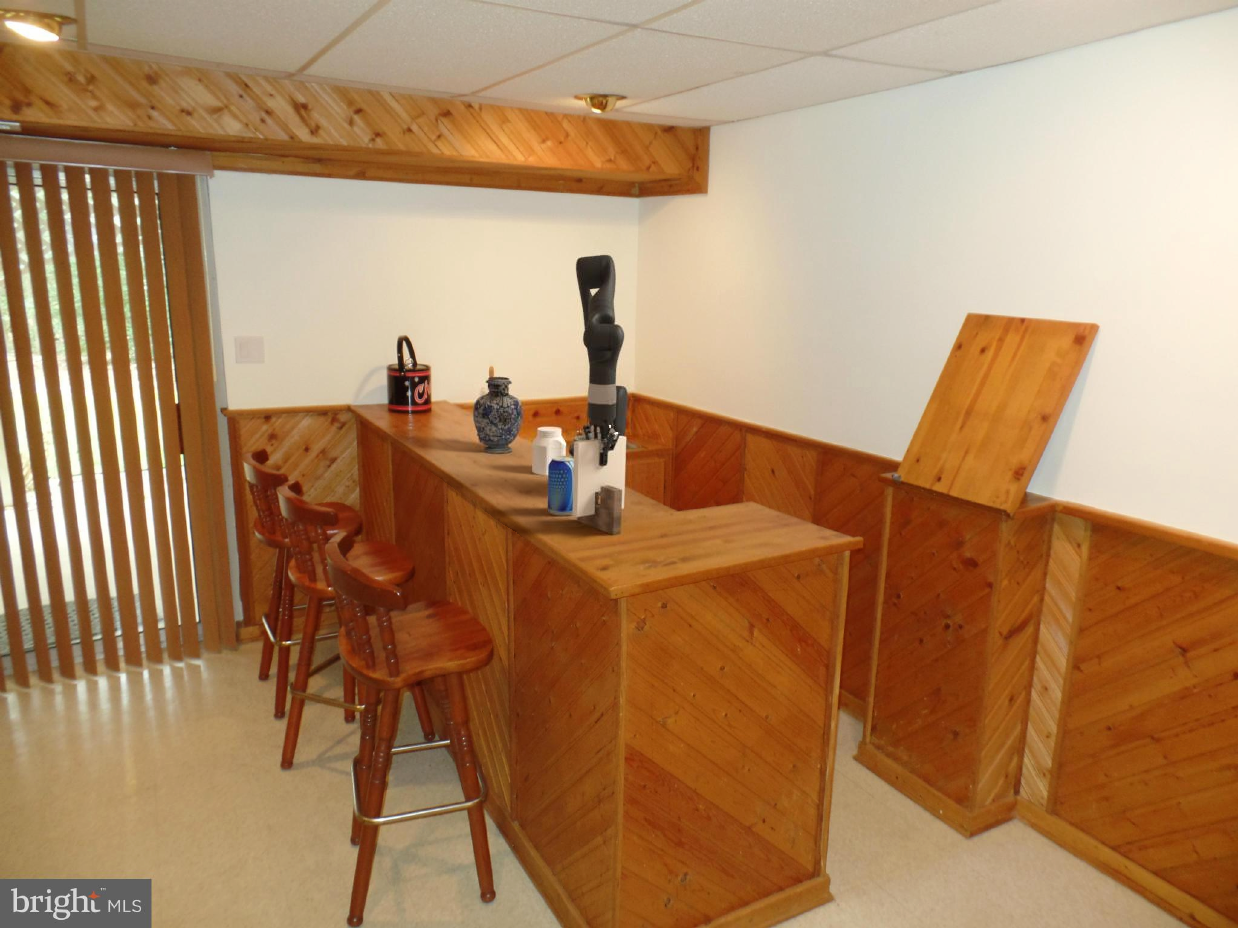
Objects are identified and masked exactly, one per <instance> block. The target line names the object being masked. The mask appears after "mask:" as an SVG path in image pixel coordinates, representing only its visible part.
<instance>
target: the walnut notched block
mask: <svg viewBox="0 0 1238 928" xmlns="http://www.w3.org/2000/svg"><path fill="white" fill-rule="evenodd" d="M598 496H599V492H595V512H594V514H591V515H586V516H581V517H576V519H577V521H578V522H581V523H583V524H585V525H587V526H590V527H592V526H593V528H595V529H597V528H598V529H597V530H600V529H601V530H600V531H602V530H603V531H602V532H605V531H606V532H605V533H607V532H609V533H608V534H610V535H612V534H613V535H612V536H615V535H614V534H616V535H620V534H619V533H621V534H622V532H621V531H622V512H623V511H622V510H623V509H622V490H621V489H618V488H615V487H612V486H610V485H605V486H601V491H600V497H598ZM599 498H600V499H599Z"/></svg>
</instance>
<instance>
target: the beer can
mask: <svg viewBox="0 0 1238 928" xmlns="http://www.w3.org/2000/svg"><path fill="white" fill-rule="evenodd" d="M573 475H574V457H572V456H571V455H566V456H554V457H552V460H551V462H550V463H549V465H548V475H547V510H548V511H549V513H551V515H554V516H563V517H564V516H565V517H566V516H571V515H572V516H573Z"/></svg>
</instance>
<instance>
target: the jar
mask: <svg viewBox="0 0 1238 928" xmlns="http://www.w3.org/2000/svg"><path fill="white" fill-rule="evenodd" d="M536 432H537V434H536V437H535V438H534V440H533V441H532V443H531V445H532V466H531V472H532V473H533V474H535V475H539V476H548V465H549V463H550V462H551V460H552V457H554V456H567V454H566V453H567V452H566V451H567V442H566V441H565V439H564V438H563V436H562V428H561V427H558V426H557V427H556V426H540V427H537V429H536Z"/></svg>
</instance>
